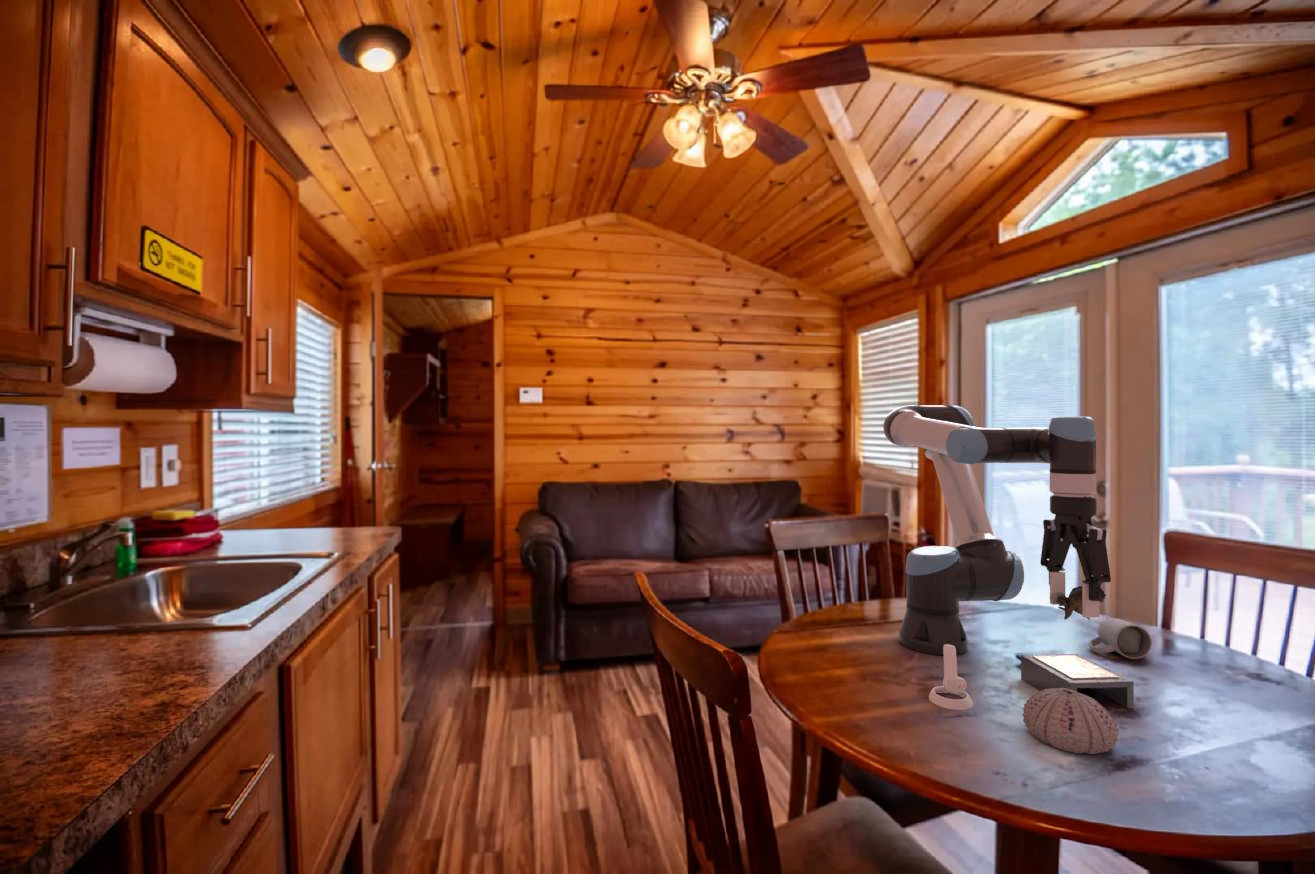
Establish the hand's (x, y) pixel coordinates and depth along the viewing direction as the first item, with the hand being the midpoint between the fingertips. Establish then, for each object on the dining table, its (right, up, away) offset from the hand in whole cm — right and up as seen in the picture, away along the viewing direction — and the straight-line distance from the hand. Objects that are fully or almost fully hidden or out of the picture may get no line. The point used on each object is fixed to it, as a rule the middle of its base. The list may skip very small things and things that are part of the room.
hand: (1073, 610), depth 116 cm
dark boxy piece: (0, -16, 0) cm, 16 cm away
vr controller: (-26, -17, -3) cm, 31 cm away
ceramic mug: (+25, -17, +21) cm, 37 cm away
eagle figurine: (+1, -2, +1) cm, 3 cm away
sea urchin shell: (-13, -17, -17) cm, 28 cm away
